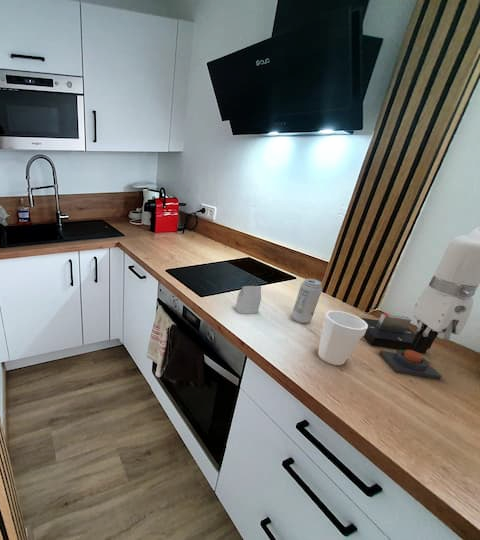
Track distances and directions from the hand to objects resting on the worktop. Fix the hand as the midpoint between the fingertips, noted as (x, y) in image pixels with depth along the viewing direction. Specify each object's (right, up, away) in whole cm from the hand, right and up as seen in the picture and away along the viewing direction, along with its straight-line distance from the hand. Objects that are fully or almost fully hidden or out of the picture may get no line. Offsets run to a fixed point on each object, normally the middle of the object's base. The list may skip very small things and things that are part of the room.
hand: (420, 346), depth 77 cm
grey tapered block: (-35, +6, +28) cm, 45 cm away
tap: (+5, +2, +14) cm, 15 cm away
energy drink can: (-18, +3, +24) cm, 30 cm away
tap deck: (+5, -1, +15) cm, 16 cm away
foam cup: (-20, -5, +5) cm, 22 cm away
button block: (-1, -6, +3) cm, 7 cm away
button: (-1, -4, +2) cm, 4 cm away
